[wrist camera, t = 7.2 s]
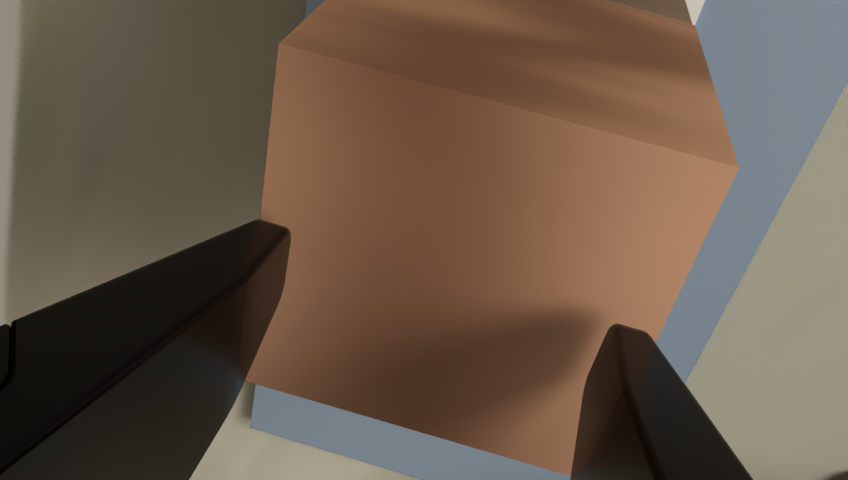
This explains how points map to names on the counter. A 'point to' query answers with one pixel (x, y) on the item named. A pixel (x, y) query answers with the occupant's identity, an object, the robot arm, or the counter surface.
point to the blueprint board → (721, 250)
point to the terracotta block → (482, 207)
